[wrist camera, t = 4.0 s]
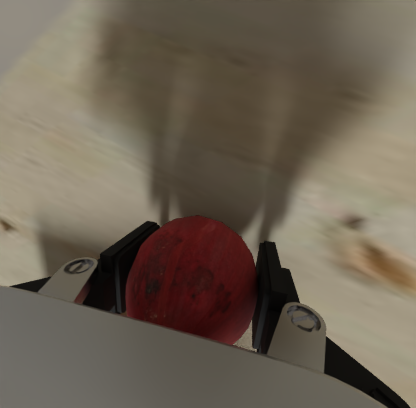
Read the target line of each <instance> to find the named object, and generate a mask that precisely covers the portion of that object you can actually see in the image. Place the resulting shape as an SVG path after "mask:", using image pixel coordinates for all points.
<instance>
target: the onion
mask: <svg viewBox="0 0 416 408" xmlns="http://www.w3.org/2000/svg"><path fill="white" fill-rule="evenodd" d="M258 291H259V281H258V276H257V272H256V267H255V263H254V259H253V256H252V253H251V252H250V250H249V249H248V247H247V245H246V244H245V242H244V241H243V239H242V237H241V236H239V235H238V234H237V233H235V232H234V231H233V230H231V229H230V228H229V227H227V226H226V225H225V224H223V223H222V222H219V221H216V220H212V219H209V218H206V217H202V216H199V215H196V216H190V217H183V218H177V219H174V220H172V221H170V222H168V223H166V224H165V225H163V226H162V227H161V228H159V229H158V230H157V231H155V232H154V233H153V234H151V235H150V236H149V237H148V238H147V239H146V240H145V241H144V242H143V244H142V245H141V246H140V248H139V251H138V253H137V256H136V258H135V260H134V263H133V265H132V267H131V269H130V272H129V274H128V279H127V283H126V296H125V298H126V310H127V316H128V317H132V318H135V319H139V320H143V321H147V322H150V323H154V324H158V325H161V326H165V327H169V328H172V329H176V330H180V331H183V332H187V333H191V334H194V335H198V336H201V337H205V338H209V339H212V340H216V341H219V342H223V343H227V344H230V345H233V344H234V343H235V342H236V341H237V340H238V339H239V338H240V337H241V336H242V335H243V334H244V332H245V331H246V330H247V329H248V327H249V325H250V322H251V320H252V317H253V314H254V310H255V306H256V302H257V298H258Z"/></svg>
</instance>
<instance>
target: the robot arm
mask: <svg viewBox="0 0 416 408" xmlns="http://www.w3.org/2000/svg"><path fill="white" fill-rule="evenodd" d="M159 228H160V226H159V225H157V223H156V222H150V221H146V222H145V223H144V224H142V225H141V226H139V227H138V228H136V229H135V230H134V231H132V232H131V233H129V234H128V235H126V236H125V237H124V238H122V239H121V240H119V241H118V242H116V243H115V244H114V245H112V246H111V247H109V248H108V249H106V250H105V251H104V252H102V253H101V254H100V259H98V260H96V259H94V258H90V257H83V258H77V259H74V260H71V261H69V262H67V263H65V264H64V265H63V266H62V267H61V268H60V269H59V270H58V271H57V272H56V273H55V274H54V275H53V276H52V277H48V278H43V279H39V280H35V281H30V282H26V283H22V284H18V285H13V286H9V287H8V286H0V408H410V407H409V405H408V404H407V403H406V402H405V401H404V400H403V399H402V398H401V397H400V396H399V395H397V394H396V393H395V392H394V391H393V390H392V389H390V388H389V387H388V386H387V385H385V384H384V383H383V382H382V381H381V380H379V379H378V378H377V377H376V376H374V375H373V374H372V373H371V372H369V371H368V370H367V369H366V368H365V367H363V366H362V365H361V364H360V363H358V362H357V361H356V360H355V359H354V358H352V357H351V356H350V355H349V354H347V353H346V352H345V351H344V350H342V349H341V348H340V347H339V346H338V345H336V344H335V343H334V342H333V341H331V340H330V339H329V338H328V337H327V336H326V324H325V322H324V320H323V318H322V317H321V316H320V315H319V314H318V313H317V312H316V311H315V310H313V309H312V308H310V307H309V306H307V305H304V304H301V303H300V301H299V298H298V295H297V291H296V288H295V285H294V282H293V279H292V276H291V272H290V270H289V269H286V268H281V265H280V261H279V257H278V253H277V249H276V245H275V242H269V241H264V243H260V245H259V251H258V256H257V262H256V272H257V276H258V281H259V291H258V298H257V302H256V306H255V310H254V314H253V317H252V347H253V348H255V349H257V352H255V351H251V350H248V349H245V348H241V347H238V346H234V345H230V344H227V343H223V342H219V341H216V340H212V339H209V338H205V337H201V336H198V335H194V334H191V333H187V332H183V331H180V330H176V329H172V328H169V327H165V326H161V325H158V324H154V323H150V322H147V321H143V320H139V319H135V318H132V317H128V316H124V315H121V313H124V312H125V311H126V298H125V296H126V283H127V279H128V274H129V272H130V269H131V267H132V265H133V263H134V260H135V258H136V256H137V253H138V251H139V248H140V246H141V245H142V244H143V242H144V241H145V240H146V239H147V238H148V237H149V236H150V235H151V234H153V233H154V232H155V231H157V230H158V229H159Z"/></svg>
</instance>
